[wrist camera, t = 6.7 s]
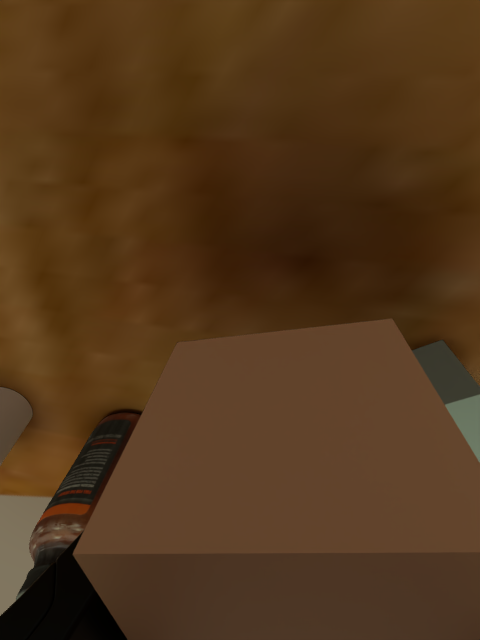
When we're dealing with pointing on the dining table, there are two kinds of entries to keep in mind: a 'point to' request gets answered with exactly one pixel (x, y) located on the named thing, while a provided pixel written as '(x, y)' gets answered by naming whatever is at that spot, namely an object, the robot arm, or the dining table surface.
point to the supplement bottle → (79, 493)
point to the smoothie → (12, 419)
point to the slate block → (453, 389)
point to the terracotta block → (291, 497)
